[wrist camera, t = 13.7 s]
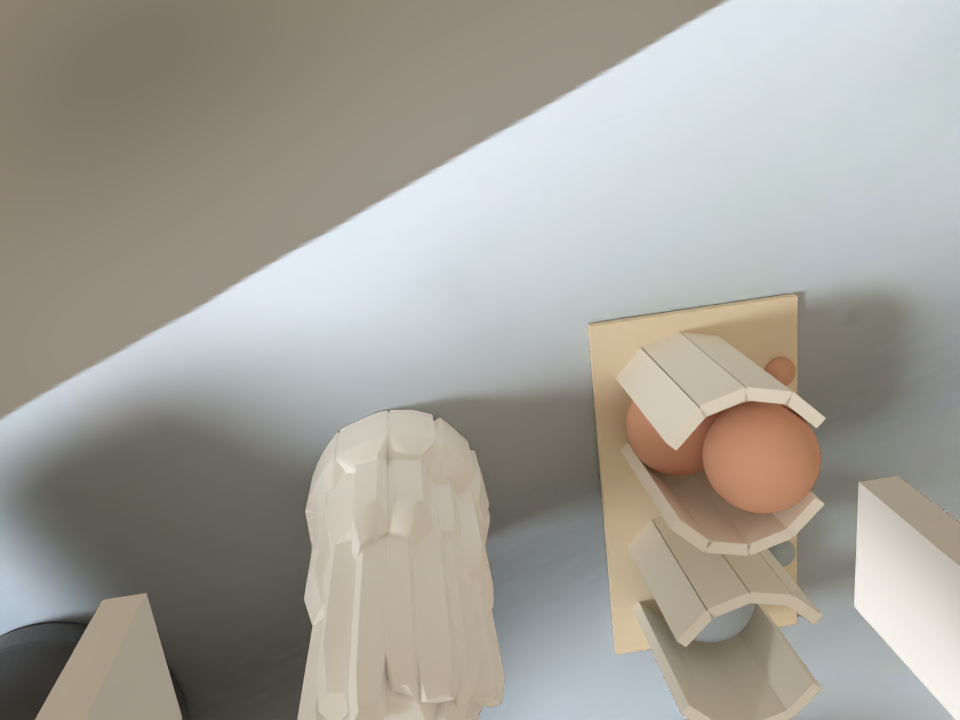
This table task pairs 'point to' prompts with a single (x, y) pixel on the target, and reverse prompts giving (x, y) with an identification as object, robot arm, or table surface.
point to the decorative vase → (399, 576)
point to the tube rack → (701, 507)
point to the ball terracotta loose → (761, 457)
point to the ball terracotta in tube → (659, 452)
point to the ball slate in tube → (726, 625)
